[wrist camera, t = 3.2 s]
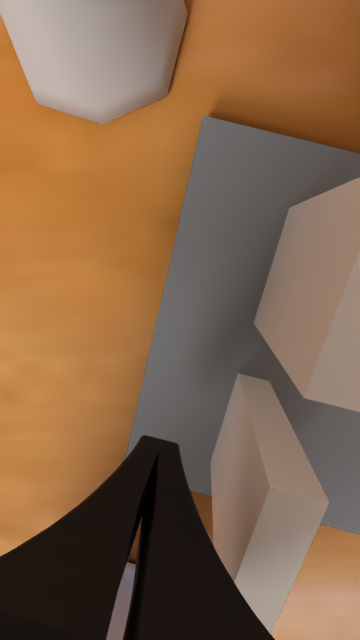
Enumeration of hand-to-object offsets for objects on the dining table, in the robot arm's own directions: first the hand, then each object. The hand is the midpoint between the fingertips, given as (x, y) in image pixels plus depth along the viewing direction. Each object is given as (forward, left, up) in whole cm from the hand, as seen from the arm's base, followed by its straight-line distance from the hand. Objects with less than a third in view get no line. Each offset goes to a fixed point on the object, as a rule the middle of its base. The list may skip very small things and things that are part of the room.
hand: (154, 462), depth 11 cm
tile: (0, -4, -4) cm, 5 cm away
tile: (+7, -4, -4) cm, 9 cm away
